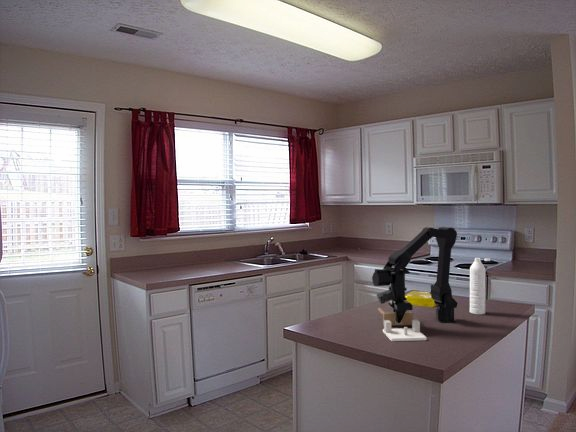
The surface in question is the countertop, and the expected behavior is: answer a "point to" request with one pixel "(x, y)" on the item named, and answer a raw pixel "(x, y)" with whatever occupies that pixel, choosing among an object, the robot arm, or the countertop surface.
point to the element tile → (420, 299)
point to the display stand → (404, 332)
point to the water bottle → (477, 287)
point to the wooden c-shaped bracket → (392, 315)
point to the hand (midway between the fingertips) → (398, 322)
